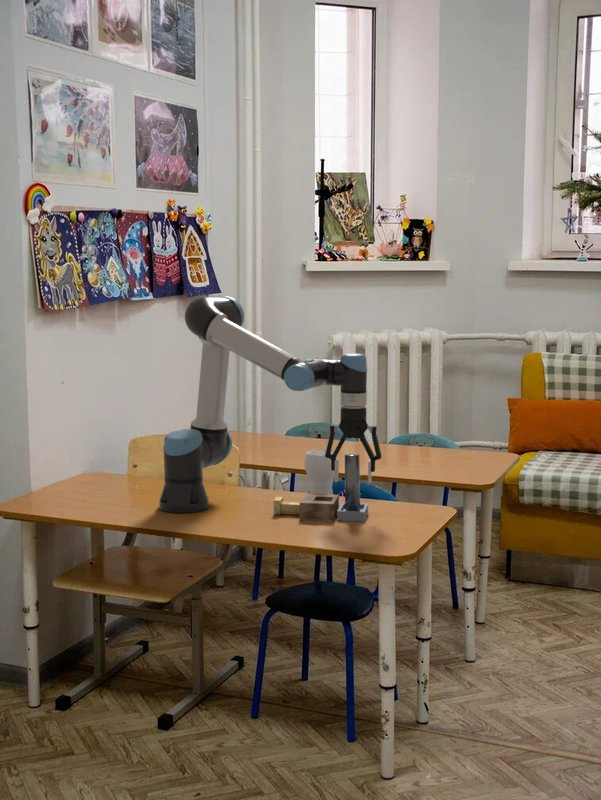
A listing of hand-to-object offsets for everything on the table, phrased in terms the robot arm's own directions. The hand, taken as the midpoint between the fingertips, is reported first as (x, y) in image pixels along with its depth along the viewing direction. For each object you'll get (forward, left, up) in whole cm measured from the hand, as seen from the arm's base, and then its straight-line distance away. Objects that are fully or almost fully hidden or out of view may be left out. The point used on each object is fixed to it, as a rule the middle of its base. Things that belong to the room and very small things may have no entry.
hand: (353, 481), depth 296 cm
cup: (-12, +20, -11) cm, 26 cm away
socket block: (-10, 0, -11) cm, 15 cm away
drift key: (-17, 0, -11) cm, 20 cm away
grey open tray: (0, 0, -11) cm, 11 cm away
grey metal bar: (0, 0, -9) cm, 9 cm away
